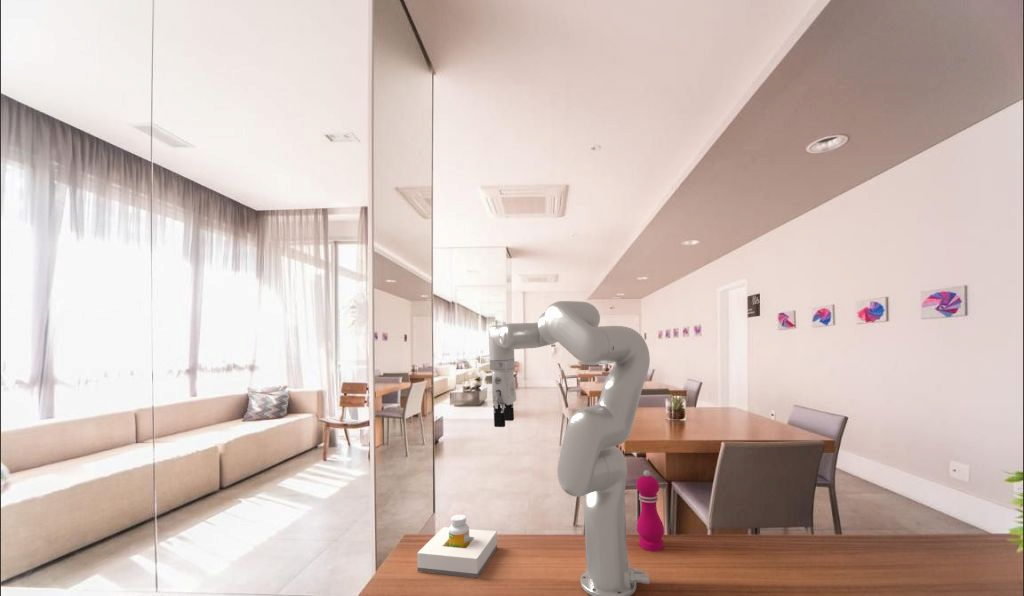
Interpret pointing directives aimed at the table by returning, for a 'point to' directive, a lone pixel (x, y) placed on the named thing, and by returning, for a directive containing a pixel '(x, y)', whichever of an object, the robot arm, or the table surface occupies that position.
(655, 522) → the pepper mill
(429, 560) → the socket block
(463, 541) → the supplement bottle
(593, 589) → the robot arm
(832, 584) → the table surface
